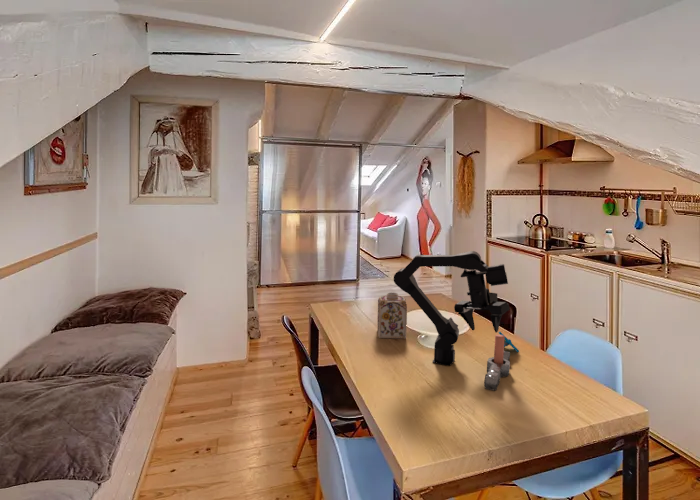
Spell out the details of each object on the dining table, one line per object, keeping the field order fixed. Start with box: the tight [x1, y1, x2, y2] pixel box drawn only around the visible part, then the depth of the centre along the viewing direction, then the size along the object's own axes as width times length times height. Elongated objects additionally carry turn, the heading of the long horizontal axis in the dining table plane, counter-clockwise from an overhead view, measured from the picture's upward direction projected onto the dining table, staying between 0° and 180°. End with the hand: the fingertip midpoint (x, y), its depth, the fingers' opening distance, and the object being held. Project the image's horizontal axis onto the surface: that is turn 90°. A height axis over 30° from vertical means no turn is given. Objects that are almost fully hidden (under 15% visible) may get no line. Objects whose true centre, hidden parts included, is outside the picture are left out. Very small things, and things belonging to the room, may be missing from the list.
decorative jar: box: [377, 292, 408, 339], centre depth 182 cm, size 12×12×18 cm
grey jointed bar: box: [483, 350, 511, 392], centre depth 145 cm, size 7×30×4 cm, turn 152°
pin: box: [493, 334, 506, 364], centre depth 145 cm, size 3×3×13 cm
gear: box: [498, 331, 520, 353], centre depth 165 cm, size 11×6×10 cm
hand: (484, 331), depth 149 cm, fingers open, 9 cm apart
